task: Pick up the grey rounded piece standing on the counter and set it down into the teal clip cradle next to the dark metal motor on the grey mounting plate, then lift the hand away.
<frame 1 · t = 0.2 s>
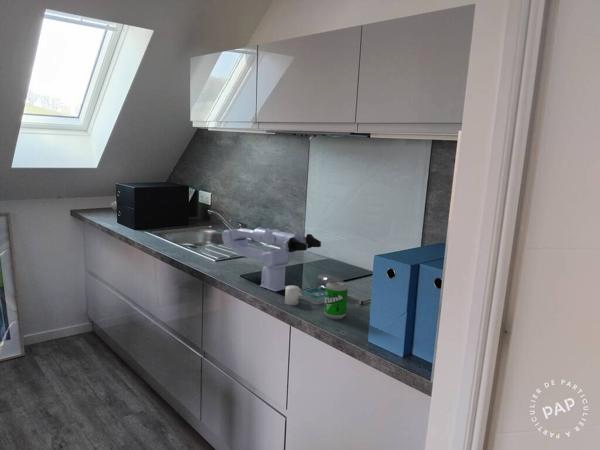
hand: (313, 245, 170), 21 cm above the worktop, tool horizontal, fingers open, 7 cm apart
grey rounded piece: (291, 302, 170), on the worktop
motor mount: (321, 296, 179), on the worktop
soda can: (334, 316, 159), on the worktop
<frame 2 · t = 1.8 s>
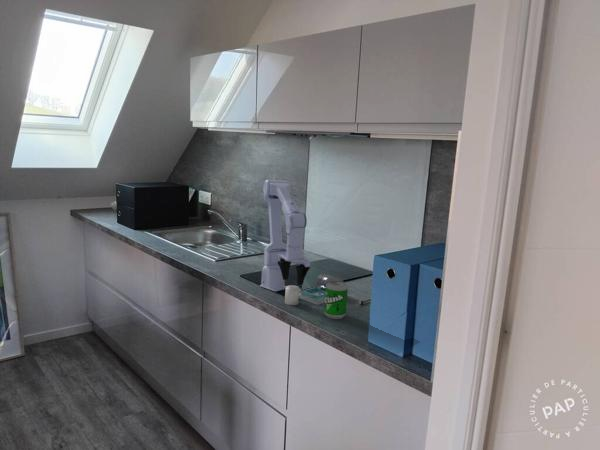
hand: (292, 281, 169), 8 cm above the worktop, tool pointing down, fingers open, 7 cm apart
nothing on the worktop moved.
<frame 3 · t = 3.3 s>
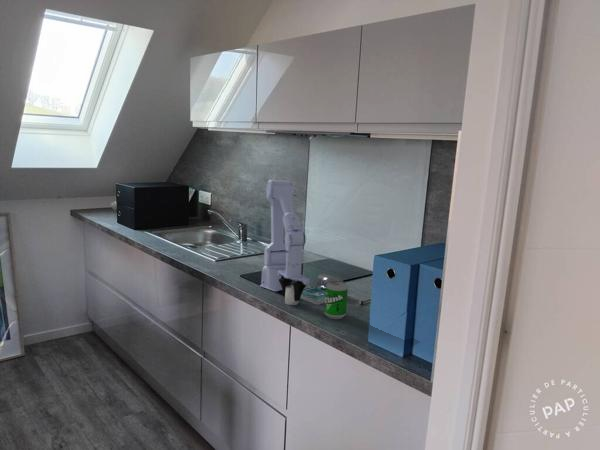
hand: (291, 298, 170), 2 cm above the worktop, tool pointing down, fingers closed on grey rounded piece, 5 cm apart
grey rounded piece: (291, 302, 170), on the worktop, touching gripper
everything else where it was.
when the fingers open (5 cm above the worktop, at t = 7.2 s): grey rounded piece drops 1 cm, resting on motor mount.
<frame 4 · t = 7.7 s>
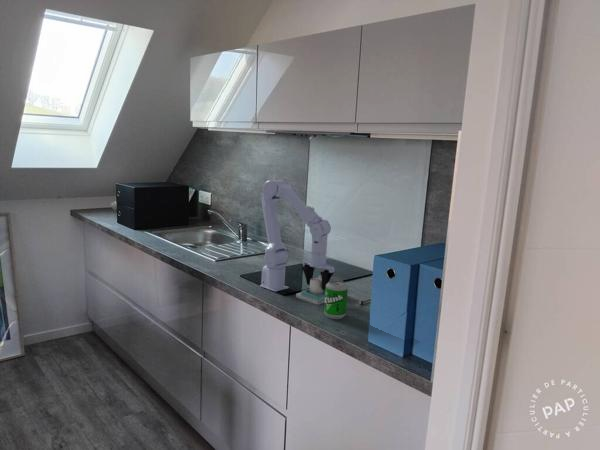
hand: (316, 286, 176), 5 cm above the worktop, tool pointing down, fingers open, 7 cm apart
grey rounded piece: (315, 294, 176), point 2 cm above the worktop, touching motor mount
everything else where it was.
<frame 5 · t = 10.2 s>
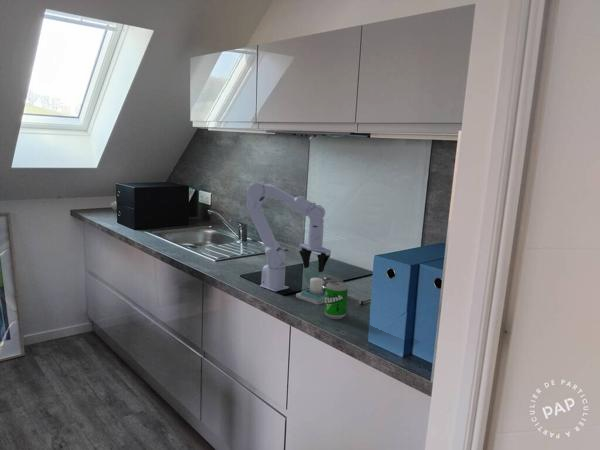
hand: (313, 269, 183), 9 cm above the worktop, tool pointing down, fingers open, 7 cm apart
nothing on the worktop moved.
at the end: grey rounded piece 0.2 cm from the target spot on the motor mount, point 1.5 cm above the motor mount's base; grey rounded piece tilted 1°; the gripper is holding nothing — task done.
